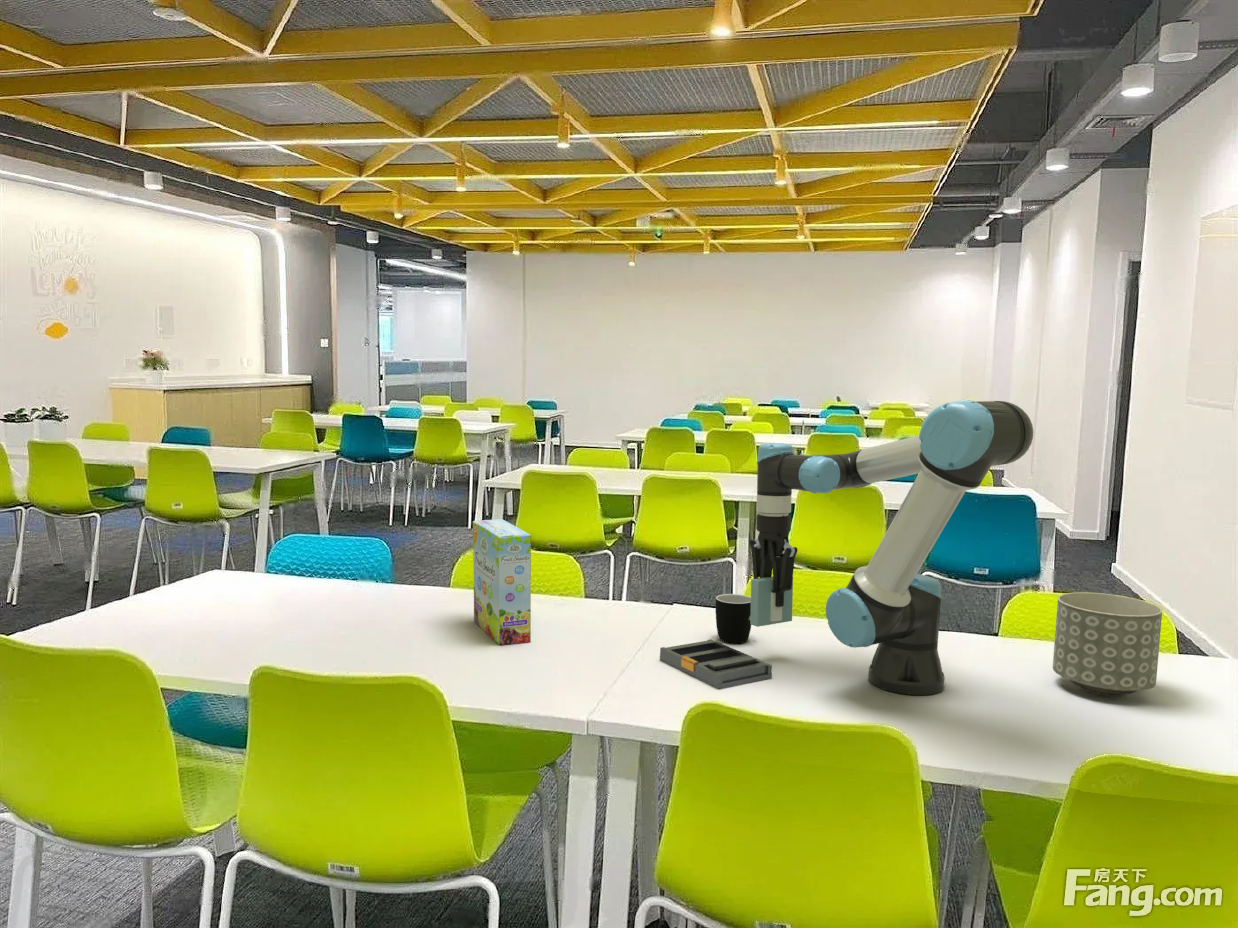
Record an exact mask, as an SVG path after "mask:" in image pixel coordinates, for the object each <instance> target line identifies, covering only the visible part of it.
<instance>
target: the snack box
mask: <svg viewBox="0 0 1238 928" xmlns="http://www.w3.org/2000/svg"><path fill="white" fill-rule="evenodd" d="M531 543H532V534H530V533H528V532H526V531H525V530H523V529H521V528H520V527H517V526H516V525H514V524H512V523H511V522H509V521H506V520H504V519H503V518H498V519H497V518H496V519H484V520H482V519H481V520H473V521H472V544H473V545H472V547H473V549H472V551H473V552H472V553H473V622H475V623H476V624H477V625H478V626H479V627H480V628H481V629H482V630H483V631H484V632H485V633H486V634H487V635H488V636H489V637H490V638H491V639H492V640H494V642H496V644H497V645H498V646H507V645H509V646H510V645H516V644H524V643H532V641H531V640H532V639H531V637H532V636H531V634H532V633H531V632H532V630H531V629H532V628H531V627H532V626H531V621H532V620H531V619H532V617H531V613H532V610H531V609H532V608H531V606H532V605H531V603H532V601H531V598H532V594H531V591H532V589H531V587H532V586H531V583H532V582H531V580H532V578H531V577H532V575H531V571H532V569H531V566H532V565H531V564H532V561H531V560H532V558H531V557H532V556H531V555H532V554H531V553H532V548H531V546H532V544H531Z"/></svg>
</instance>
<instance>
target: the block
mask: <svg viewBox="0 0 1238 928" xmlns="http://www.w3.org/2000/svg"><path fill="white" fill-rule="evenodd" d="M793 587H794V578H793V579H792V588H791V590H788V591H785V592H784V605H783V607H782V620H781V621H775V622H772V621H770V616H771V590H774V586H773V576H772V577H766V578H760V577H758V579H753V578H752V579H751V580H750V597H751V617H750V624H751V626H754V627H758V628H759V627H764V626H771V625H775V624H782V623H787V622H792V621H793V601H794V600H793V598H794V597H793V596H794V595H793V594H794V591H793V590H794V588H793Z"/></svg>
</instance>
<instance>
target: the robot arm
mask: <svg viewBox="0 0 1238 928" xmlns="http://www.w3.org/2000/svg"><path fill="white" fill-rule="evenodd" d="M1033 439H1034V426H1033V422H1032V421H1031V419H1030V416H1029V415H1028V414H1027V412H1026V411H1024V409H1022V408H1021V407H1019V406H1018V405H1016V404H1014V403H1012V402H1009V401H1006V400H1005V401H1003V400H989V401H988V400H984V401H981V400H979V401H974V400H965V399H962V400H955V401H952V402H946V403H944V404H943V403H942V404H941V405H939V406H937V407H935V408H934V409H933V410H931V412H929V413H928V415H927V416H926V417H925V419H924V420H923V422H922V424H921V427H920V430H919V435H914V436H910V437H907V438H903V439H899V440H895V441H891V442H887V443H884V444H879V445H875V446H871V447H868V448H864V449H860V450H856V451H851V452H846V453H839V454H837V453H836V454H834V453H833V454H832V453H831V454H817V455H816V454H815V455H814V454H813V455H810V454H809V455H806V454H795V453H794V451H793V449H794V448H793V445H792V444H788V443H783V442H782V443H775V442H773V443H771V442H769V443H768V442H767V443H762V444H760V445H759V446H758V451H757V462H756V466H757V475H756V476H757V478H756V479H757V482H756V483H757V484H756V485H757V486H756V487H757V488H756V512H757V513H758V514H756V522H755V523H756V525H755V528H756V531H757V532H759V533H758V536H757V538H755V539H750V540H749V546H750V549H751V558H752V559H751V560H752V575H753V576H752V577H753V578H752V579H758V578H766V577H773V586H774V590H771V616H770V621H772V622H775V621H781V620H782V607H783V605H784V592H785V591H788V590H791V588H792V579H793V580H794V570H795V569H794V568H795V560H796V559H795V558H796V555H797V553H798V551H799V550H798V547H796V546H794V547H793V546H792V545H791V544H790V539H789V537H788V534H789V533H790V532H791V530H792V527H791V526H792V516H791V514H790V513H791V512H792V493H793V492H792V491H793V490H797V491H802V492H803V491H804V492H810V493H811V494H818V493H819V494H827V493H830V492H832V491H833V490H839V489H852V488H853V489H859V488H865V487H869V486H871V485H872V484H875V483H879V482H880V483H881V482H885V481H888V480H889V481H890V480H893V479H898V478H903V477H909V476H912V475H917V476H916V478H915V480H914V482H913V483H912V485H911V487H910V489H909V490H908V492H907V494H906V496H905V498H904V499H903V501H902V503H901V505H900V506H899V508H898V511H897V512H896V514H895V516H894V517H893V520H892V521H891V522H890V524H889V527H888V528H887V530H886V532H885V533H884V535H883V537H882V539H881V541H880V543H879V545H878V546H877V548H876V550H875V552H874V554H873V555H872V557H871V559H870V560H869V562H868V564H867V565H864V566H860V567H858V568H857V569H856V570H855V571H854V573H853V575H852V577H851V578H850V580H849V582H848V583H847V585H846V586H845V587H842V588H838V589H836V590H834V591H833V592H832V593H831V594H829V597H828V598H827V599H826V604H825V618H826V619H827V624H828V627H829V629H830V631H831V633H832V634H833V635H834V637H835V638H836V639H837V640H838V641H839V642H840V643H841V644H843V645H844V646H846V647H850V648H854V649H855V648H868V647H870V646H874V645H877V644H878V645H877V647H876V650H875V652H874V655H873V658H872V661H871V664H869V666H868V673H867V674H868V676H867V678H868V681H869V683H871V685H873V686H875V687H877V688H879V689H881V690H885V691H888V692H892V693H896V694H903V695H911V696H913V695H915V696H926V695H935V694H938V693H940V692H942V691H943V690H944V689H945V682H946V681H945V680H946V679H945V674H944V671H943V668H942V663H941V659H940V655H939V650H938V649H939V647H938V645H939V644H938V643H939V631H940V618H941V617H940V615H941V603H942V602H941V600H942V589H941V588H942V587H941V586H942V585H941V583H940V581H939V580H938V579H936V578H934V577H932V576H929V575H928V576H927V575H925V574H920V573H919V571H920V569H921V567H922V565H924V563H925V561H926V560H927V557H928V556H929V553H930V552H931V550H932V549H933V547H934V546H935V544H936V542H937V540H938V539H939V537H940V535H941V533H942V532H943V530H944V528H945V527H946V526H947V523H948V522H949V520H950V518H951V517H952V515H953V513H954V512H955V510H956V508H957V507H958V505H959V503H960V502H961V500H962V498H963V497H964V495H965V493H966V491H970V490H974V489H977V488H979V487H980V485H981V483H982V482H983V480H984V479H985V477H986V475H987V474H988V472H989V471H990V469H991V467H993V466H994V467H996V466H1003V465H1009V464H1011V463H1015V462H1016V461H1018V460H1020V459H1021V458H1022V457H1023V456H1024V455H1025V454H1026V453H1027V452H1028V451H1029V449H1030V448H1031V446H1032V443H1033Z"/></svg>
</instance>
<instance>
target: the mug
mask: <svg viewBox="0 0 1238 928" xmlns="http://www.w3.org/2000/svg"><path fill="white" fill-rule="evenodd" d="M750 617H751V596H749V595H745V594H738V593H725V594H723V593H722V594H719V595H717V596H716V597H715V623H716V630H717V631H716V632H717V635H718V638H719V640H720V641H721V642H723V643H725V644H731V645H741V644H744V643H746V642H748V639H749V636H750V634H751V630H752V625H751V624H750Z"/></svg>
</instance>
